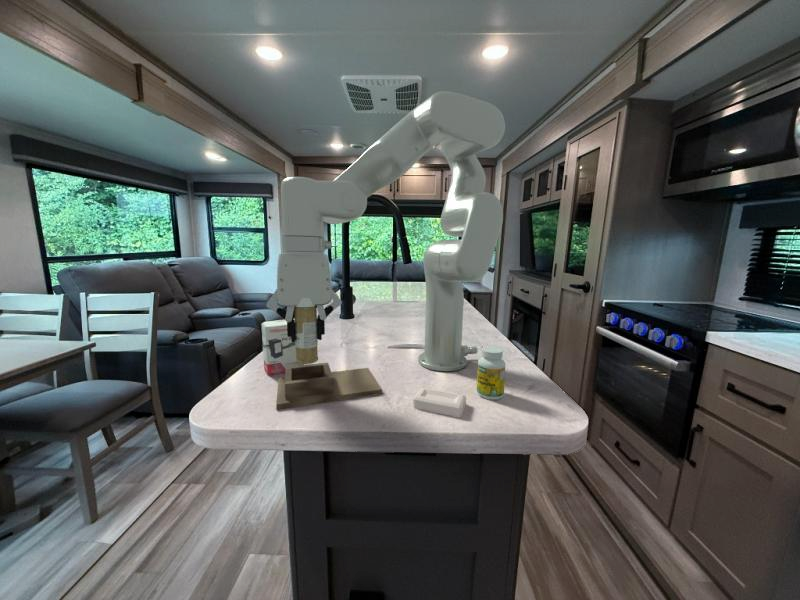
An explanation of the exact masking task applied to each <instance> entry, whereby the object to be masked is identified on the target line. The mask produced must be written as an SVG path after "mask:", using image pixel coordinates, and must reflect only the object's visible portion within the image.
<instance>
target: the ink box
mask: <svg viewBox="0 0 800 600" xmlns="http://www.w3.org/2000/svg"><path fill="white" fill-rule="evenodd" d="M293 319H294V320H295V318H293ZM261 335H262V336H261V338H262V353H263V354H262V355H263V368H264V371H265V373H266V375H267V376H272V375H276V374H281V373H285V367H290V366H300V365H305V364H298V363H296V361H295V359H296V346H295V341H294V342H292V341H291V337H288V336H287V322H286V321H285V319H279V320H278V319H277V320H270V321H264V322H262V323H261Z"/></svg>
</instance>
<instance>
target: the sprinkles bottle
mask: <svg viewBox="0 0 800 600" xmlns="http://www.w3.org/2000/svg"><path fill="white" fill-rule="evenodd" d="M293 313H294V319H295V346H296V359H295V361H296V363H298V364H304V365H309V364H316V363H317V362H318V360H319V355H318V345H319V344H318V343H319V342H318V341H319V339H318V335H317V317H318V310H317V306H315V305H313V304H312V302H311V299H309V298H303V299H301V300H300V303H299V305H298V306H295V307H294V311H293Z"/></svg>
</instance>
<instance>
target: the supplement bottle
mask: <svg viewBox="0 0 800 600" xmlns="http://www.w3.org/2000/svg"><path fill="white" fill-rule="evenodd" d="M503 352H504V351H503V349H502V348H499V347H496V346H484V347H482V348H481V356H482V357H480V358H478V361H477V376H476V377H477V378H476V393H477V395H478V396H479V397H481V398H483V399H486V400H491V401H492V400H494V401H495V400H496V401H498V400H500V399H502V398H503V397H504V393H505V382H506V381H505V380H506V379H505V378H506V362H505V361H504V359H502V358H503V355H504V354H503Z"/></svg>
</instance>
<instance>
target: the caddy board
mask: <svg viewBox="0 0 800 600" xmlns="http://www.w3.org/2000/svg"><path fill="white" fill-rule="evenodd" d="M277 379H278V380H277V393H276V402H275V403H276V404H275V405H276V406H275V407H276V408H275V409H276V410H282V409H283V410H284V409H291V408H296V407H303V406H310V405H315V404H317V405H318V404H324V403H329V402H336V401H342V400H348V399H349V400H351V399H356V398H363V397H369V396H370V397H371V396H376V395H382V394H383V388H382V387H381V385H380V384H379V382H378V381H377V379H376V378H375V376H374V375H373V372H371V370H370V369H369V367H364V368H355V369H348V370H347V369H345V370H338V371H331V368H330V364H329V362H321V363H319V362H318V363H311V364H304V365H300V366H290V367H285V372H284V377H278V378H277Z"/></svg>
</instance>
